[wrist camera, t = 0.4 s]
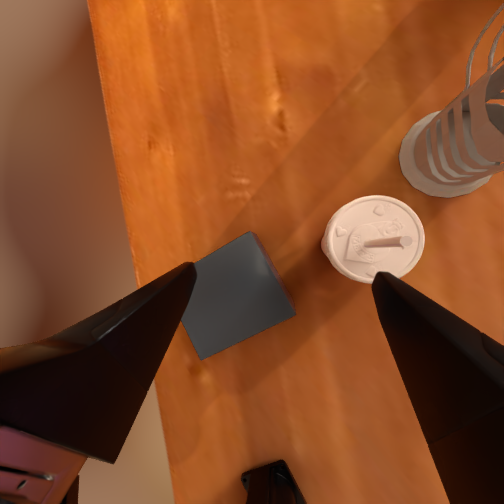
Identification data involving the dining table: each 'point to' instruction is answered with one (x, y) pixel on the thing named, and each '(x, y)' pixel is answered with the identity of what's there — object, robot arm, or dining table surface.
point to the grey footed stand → (235, 296)
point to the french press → (459, 136)
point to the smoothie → (373, 238)
